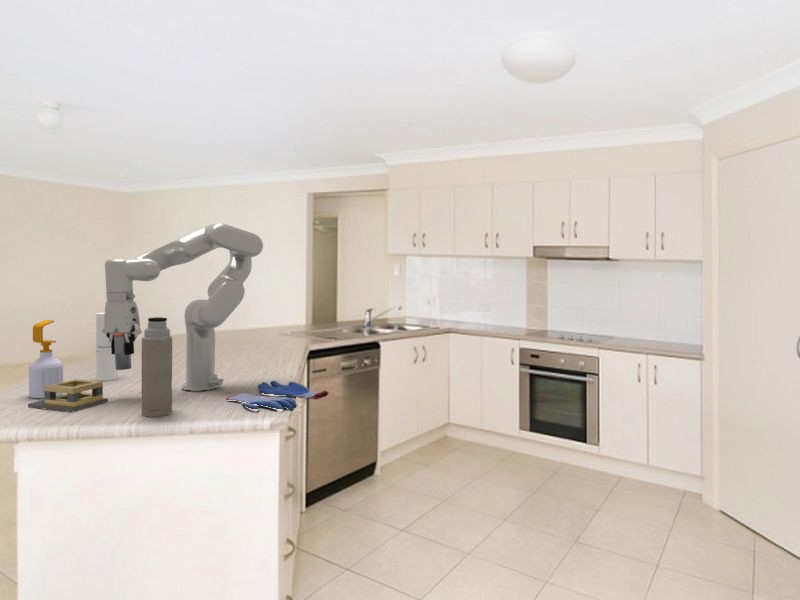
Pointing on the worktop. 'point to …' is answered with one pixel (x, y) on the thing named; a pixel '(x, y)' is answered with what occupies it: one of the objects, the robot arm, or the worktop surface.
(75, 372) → the worktop surface
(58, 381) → the soap bottle
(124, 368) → the tube
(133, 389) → the worktop surface
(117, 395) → the worktop surface
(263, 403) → the pair of gloves
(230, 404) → the worktop surface
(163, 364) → the thermos bottle
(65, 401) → the tan frame fixture
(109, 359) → the cylindrical container
